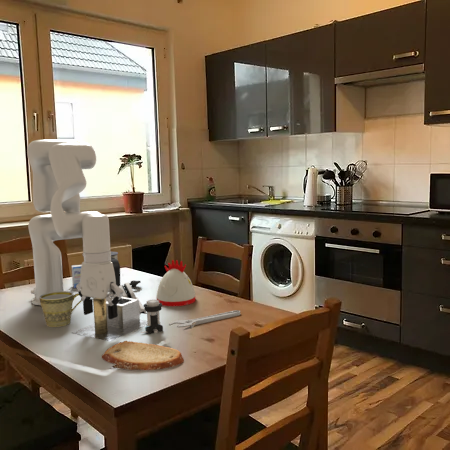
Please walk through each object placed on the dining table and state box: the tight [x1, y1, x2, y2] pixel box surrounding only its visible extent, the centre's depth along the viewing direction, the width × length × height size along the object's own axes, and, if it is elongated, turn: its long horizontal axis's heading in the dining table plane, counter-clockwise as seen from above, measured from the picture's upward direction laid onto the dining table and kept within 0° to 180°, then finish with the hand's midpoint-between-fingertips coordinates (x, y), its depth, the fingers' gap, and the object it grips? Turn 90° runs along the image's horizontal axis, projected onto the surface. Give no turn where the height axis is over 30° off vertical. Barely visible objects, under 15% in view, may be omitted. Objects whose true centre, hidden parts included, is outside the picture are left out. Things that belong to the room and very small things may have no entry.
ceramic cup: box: [39, 290, 83, 328], centre depth 160 cm, size 13×10×10 cm
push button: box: [140, 299, 164, 335], centre depth 150 cm, size 7×5×10 cm
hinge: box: [119, 282, 147, 315], centre depth 177 cm, size 17×5×10 cm, turn 18°
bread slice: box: [101, 340, 185, 371], centre depth 133 cm, size 18×18×4 cm
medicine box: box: [71, 264, 82, 289], centre depth 210 cm, size 8×4×9 cm, turn 111°
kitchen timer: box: [155, 259, 196, 307], centre depth 185 cm, size 14×14×15 cm
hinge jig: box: [71, 297, 147, 342], centre depth 155 cm, size 15×19×8 cm
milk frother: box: [111, 251, 141, 288], centre depth 203 cm, size 14×16×15 cm
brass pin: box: [92, 298, 108, 334], centre depth 150 cm, size 4×4×10 cm
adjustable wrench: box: [168, 310, 241, 331], centre depth 162 cm, size 25×6×2 cm, turn 119°
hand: (100, 315), depth 150 cm, fingers open, 9 cm apart
